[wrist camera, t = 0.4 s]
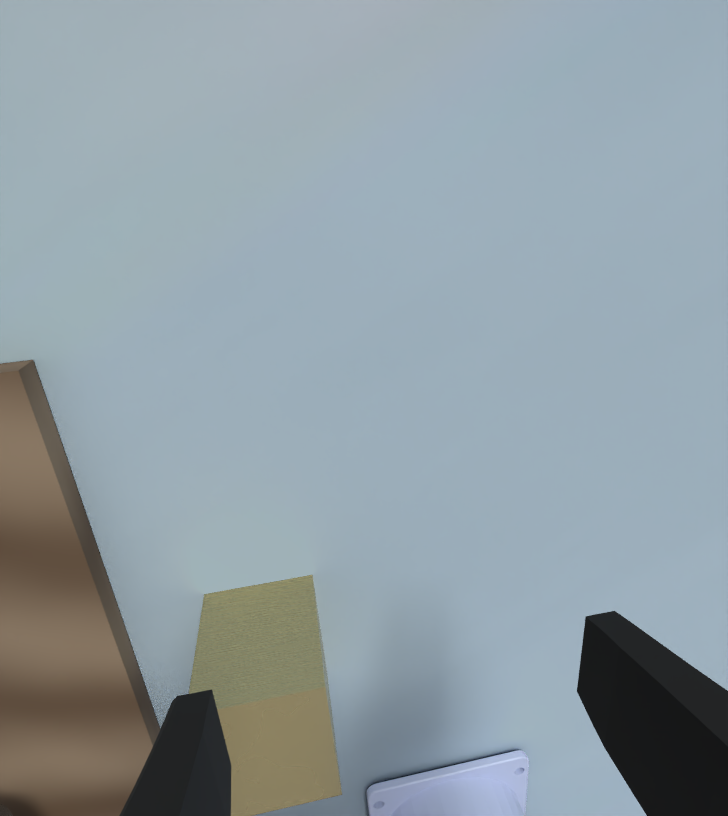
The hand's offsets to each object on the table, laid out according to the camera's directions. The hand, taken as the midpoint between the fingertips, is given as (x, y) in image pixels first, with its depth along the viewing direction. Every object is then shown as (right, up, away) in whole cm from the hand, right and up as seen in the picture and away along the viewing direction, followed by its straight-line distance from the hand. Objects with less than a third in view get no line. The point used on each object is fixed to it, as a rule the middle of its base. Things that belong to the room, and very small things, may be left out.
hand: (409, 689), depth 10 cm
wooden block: (-5, -3, +11) cm, 12 cm away
